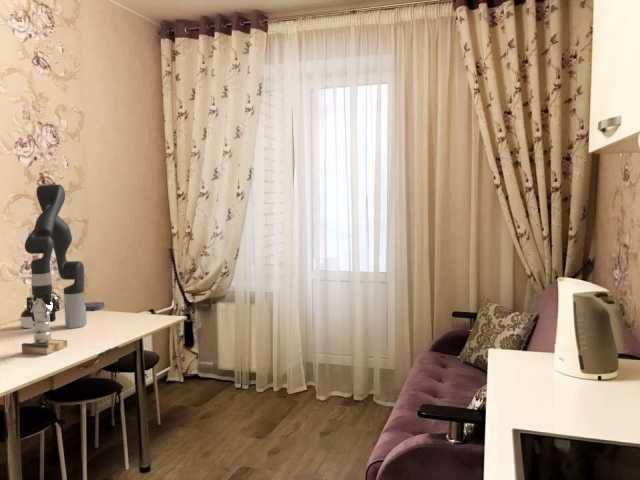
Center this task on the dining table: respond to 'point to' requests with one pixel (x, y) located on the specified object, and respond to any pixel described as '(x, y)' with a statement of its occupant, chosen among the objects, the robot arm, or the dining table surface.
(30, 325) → the spread jar
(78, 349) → the dining table surface
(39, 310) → the plastic bottle
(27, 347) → the dock
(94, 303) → the streaming box
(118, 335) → the dining table surface
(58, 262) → the robot arm
